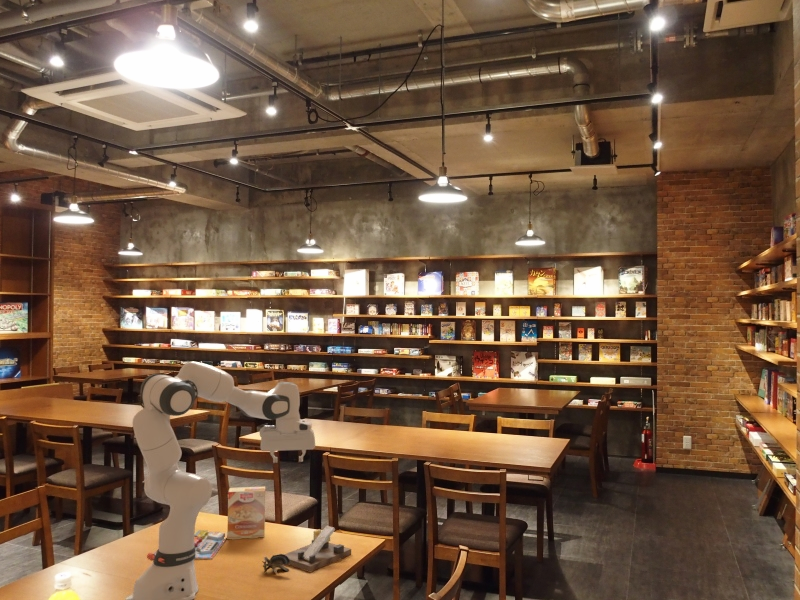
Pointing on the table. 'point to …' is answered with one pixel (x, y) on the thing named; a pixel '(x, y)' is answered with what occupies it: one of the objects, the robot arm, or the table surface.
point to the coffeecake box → (246, 512)
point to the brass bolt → (318, 534)
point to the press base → (318, 556)
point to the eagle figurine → (276, 562)
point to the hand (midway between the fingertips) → (288, 461)
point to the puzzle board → (207, 543)
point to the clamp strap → (318, 542)
